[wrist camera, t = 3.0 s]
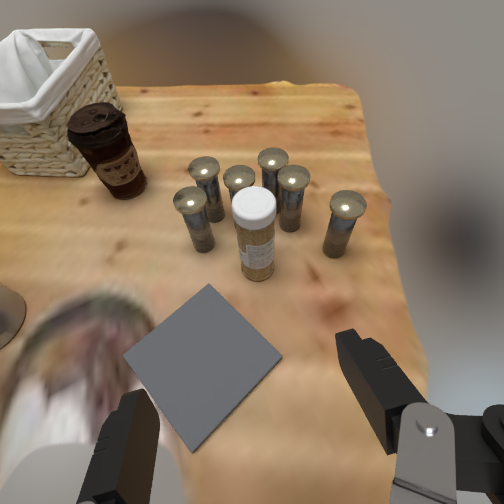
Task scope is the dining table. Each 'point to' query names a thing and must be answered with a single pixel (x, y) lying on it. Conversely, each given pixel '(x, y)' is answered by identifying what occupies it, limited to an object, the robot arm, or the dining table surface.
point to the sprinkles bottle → (255, 230)
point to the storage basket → (48, 98)
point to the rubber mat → (201, 364)
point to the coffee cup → (107, 148)
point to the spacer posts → (273, 179)
